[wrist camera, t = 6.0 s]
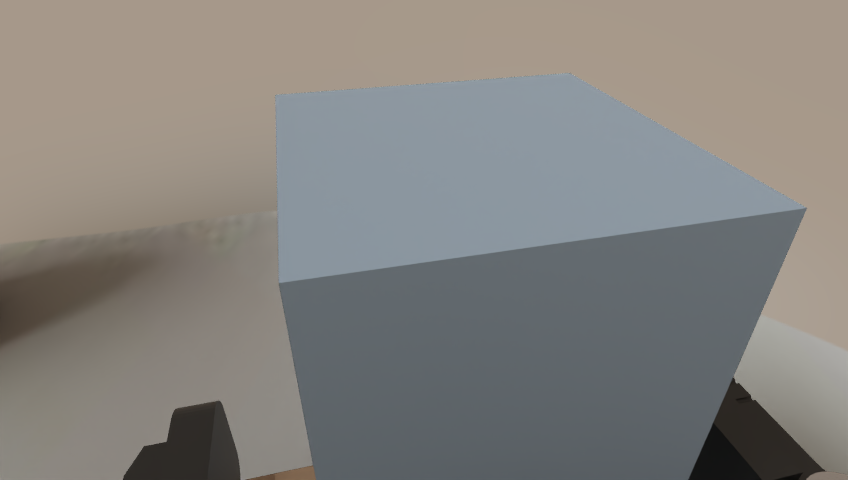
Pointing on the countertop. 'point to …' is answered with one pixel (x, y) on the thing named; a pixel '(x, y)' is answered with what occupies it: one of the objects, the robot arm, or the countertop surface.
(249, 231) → the countertop surface
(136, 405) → the countertop surface
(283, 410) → the countertop surface
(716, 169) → the slate block
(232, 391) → the countertop surface
